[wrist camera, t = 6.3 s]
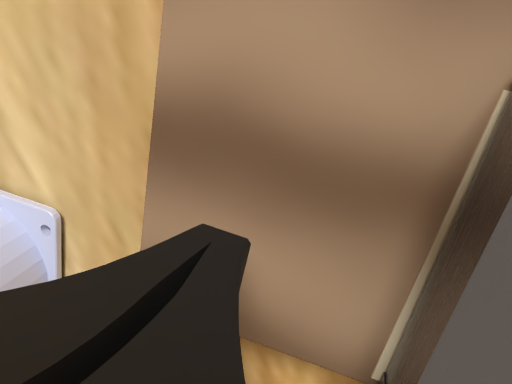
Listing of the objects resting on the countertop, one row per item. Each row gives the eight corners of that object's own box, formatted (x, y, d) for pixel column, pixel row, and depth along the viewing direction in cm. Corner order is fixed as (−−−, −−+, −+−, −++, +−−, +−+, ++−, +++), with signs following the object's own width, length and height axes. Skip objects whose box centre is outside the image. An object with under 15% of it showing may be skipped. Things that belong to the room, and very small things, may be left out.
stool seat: (454, 363, 15) (468, 423, 13) (166, 263, 17) (134, 300, 15) (647, 29, 10) (725, 30, 8) (208, -60, 12) (169, -80, 10)
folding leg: (528, 46, 9) (580, 53, 7) (657, 72, 8) (760, 89, 6) (372, 397, 13) (372, 471, 11) (450, 425, 13) (465, 507, 11)
